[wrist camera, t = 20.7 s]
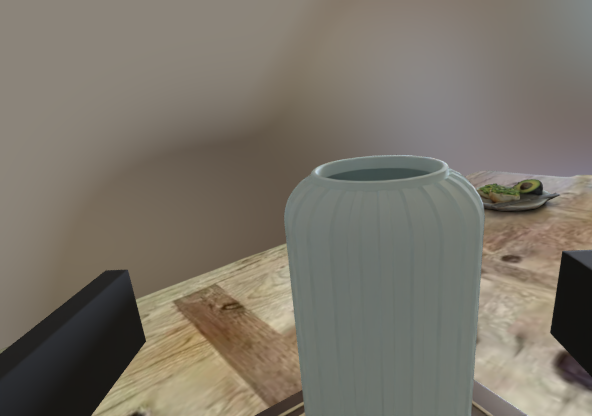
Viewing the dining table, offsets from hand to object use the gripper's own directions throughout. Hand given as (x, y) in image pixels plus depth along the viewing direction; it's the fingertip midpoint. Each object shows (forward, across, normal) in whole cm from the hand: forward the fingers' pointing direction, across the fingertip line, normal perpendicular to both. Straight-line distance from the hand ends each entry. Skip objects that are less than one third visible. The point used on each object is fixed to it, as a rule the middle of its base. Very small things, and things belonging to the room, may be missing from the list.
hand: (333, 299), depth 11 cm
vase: (+11, +3, -21) cm, 24 cm away
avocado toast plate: (+76, +43, -22) cm, 90 cm away
